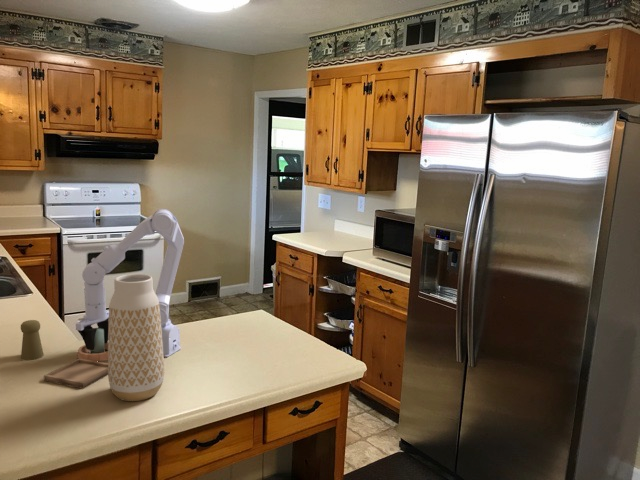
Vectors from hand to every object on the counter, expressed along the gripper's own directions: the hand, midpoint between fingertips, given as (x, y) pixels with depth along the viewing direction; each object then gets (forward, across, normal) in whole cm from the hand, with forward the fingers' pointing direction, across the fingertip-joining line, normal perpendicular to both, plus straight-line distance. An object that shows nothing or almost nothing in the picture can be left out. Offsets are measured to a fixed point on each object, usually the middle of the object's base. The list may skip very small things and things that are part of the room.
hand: (97, 345), depth 164 cm
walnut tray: (+3, +14, +6) cm, 15 cm away
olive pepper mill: (+3, +8, -17) cm, 19 cm away
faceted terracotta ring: (+3, 0, 0) cm, 3 cm away
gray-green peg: (+3, 0, 0) cm, 3 cm away
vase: (+3, +17, +27) cm, 32 cm away
